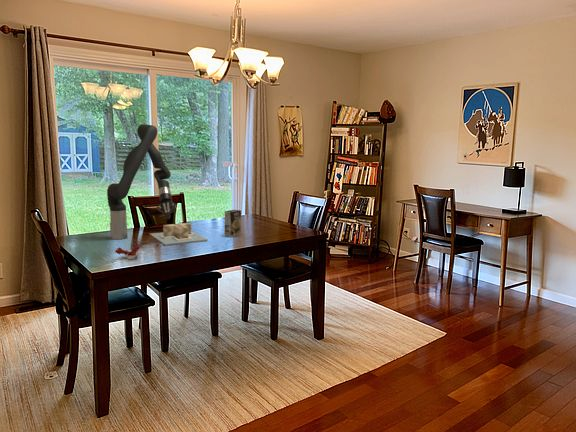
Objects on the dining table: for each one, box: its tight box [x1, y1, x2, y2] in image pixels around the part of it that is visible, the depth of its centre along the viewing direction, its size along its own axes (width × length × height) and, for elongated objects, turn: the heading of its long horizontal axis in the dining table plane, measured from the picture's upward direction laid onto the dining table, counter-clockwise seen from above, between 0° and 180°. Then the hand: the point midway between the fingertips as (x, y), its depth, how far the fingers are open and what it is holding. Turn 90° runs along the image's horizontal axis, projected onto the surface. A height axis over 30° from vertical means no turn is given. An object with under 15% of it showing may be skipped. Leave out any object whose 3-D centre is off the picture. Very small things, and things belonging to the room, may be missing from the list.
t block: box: [162, 222, 192, 239], centre depth 276 cm, size 16×15×7 cm
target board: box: [150, 230, 209, 247], centre depth 278 cm, size 26×32×2 cm
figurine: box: [114, 243, 143, 260], centre depth 232 cm, size 15×12×7 cm
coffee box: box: [224, 209, 242, 238], centre depth 287 cm, size 9×6×16 cm
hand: (168, 218), depth 288 cm, fingers closed
